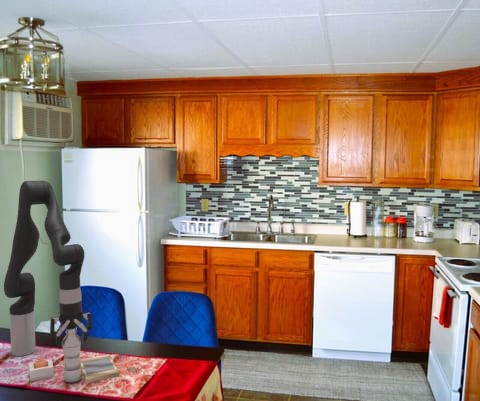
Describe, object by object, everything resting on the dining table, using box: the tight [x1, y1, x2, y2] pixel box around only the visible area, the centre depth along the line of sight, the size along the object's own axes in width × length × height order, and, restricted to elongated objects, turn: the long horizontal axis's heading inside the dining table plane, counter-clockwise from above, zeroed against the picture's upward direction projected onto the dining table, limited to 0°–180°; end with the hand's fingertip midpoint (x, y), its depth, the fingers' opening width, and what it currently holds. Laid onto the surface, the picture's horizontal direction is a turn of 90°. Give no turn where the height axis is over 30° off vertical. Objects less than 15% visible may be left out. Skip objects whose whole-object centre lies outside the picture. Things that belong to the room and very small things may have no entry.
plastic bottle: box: [61, 326, 83, 384], centre depth 172 cm, size 6×7×20 cm
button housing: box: [28, 358, 55, 383], centre depth 177 cm, size 8×8×4 cm
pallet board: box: [80, 354, 120, 384], centre depth 182 cm, size 18×12×2 cm, turn 27°
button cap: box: [34, 359, 47, 368], centre depth 177 cm, size 4×4×4 cm
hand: (71, 343), depth 172 cm, fingers open, 8 cm apart
